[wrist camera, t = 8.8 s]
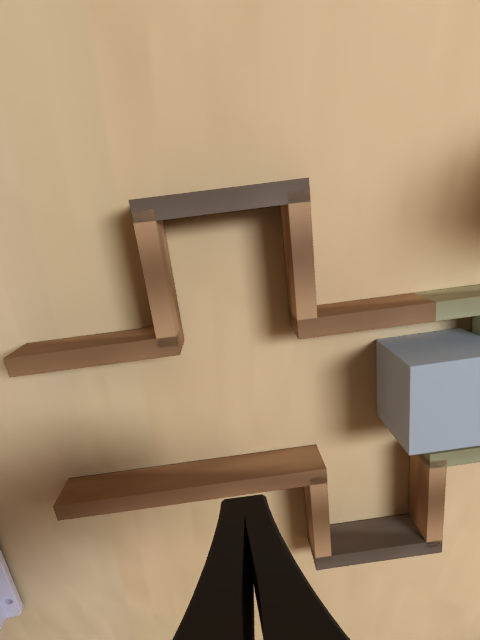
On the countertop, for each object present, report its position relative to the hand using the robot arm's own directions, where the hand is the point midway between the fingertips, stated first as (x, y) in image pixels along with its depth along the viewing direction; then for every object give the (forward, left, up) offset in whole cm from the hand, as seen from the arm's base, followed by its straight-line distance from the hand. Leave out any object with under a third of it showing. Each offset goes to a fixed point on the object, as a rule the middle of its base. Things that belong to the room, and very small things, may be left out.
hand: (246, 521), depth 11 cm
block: (-1, -11, -10) cm, 15 cm away
